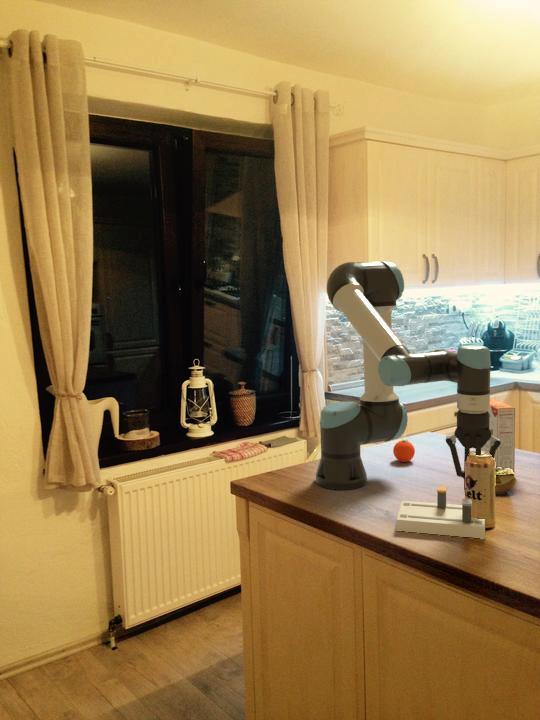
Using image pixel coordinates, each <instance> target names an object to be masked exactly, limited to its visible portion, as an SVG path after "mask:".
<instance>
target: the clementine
mask: <svg viewBox="0 0 540 720" xmlns="http://www.w3.org/2000/svg"><path fill="white" fill-rule="evenodd" d="M415 450H416V449H415V447H414V445H413V444H412V443H411V442H410V441H408V439H402V440H399V441H398V442H396V443H395V444H394V446H393V449H392V451H393V455H394V456H393V457H395V459H396V460H397V461H400V462H402V463H403V462H404V463H406V462H409V461H411V460H412V459H413V458H414V456H415V452H416V451H415Z"/></svg>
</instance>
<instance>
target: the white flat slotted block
mask: <svg viewBox="0 0 540 720" xmlns="http://www.w3.org/2000/svg"><path fill="white" fill-rule="evenodd" d="M395 522H396V525H395V526H396V532H397V531H405V532H404V533H408V532H417V533H416V534H419V533H429V534H439V535H438V536H440V535H450V536H449V537H451V536H463V537H473V538H480V539H479V540H484V539H485V540H486V523H485V522H486V519H477V518H473V517H471V522H462V504H454V503H453V504H452V503H451V504H450V503H446V508H438V507H437V502H425V501H413V500H401V503H400V506H399V509H398V513H397V517H396V521H395ZM406 531H407V532H406ZM429 534H428V535H429ZM473 538H472V539H473Z"/></svg>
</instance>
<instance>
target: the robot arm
mask: <svg viewBox="0 0 540 720" xmlns="http://www.w3.org/2000/svg"><path fill="white" fill-rule="evenodd" d="M328 276H329V277H328V278H327V281H326V294H327V297H328V300H329V303H331V305H332V306H333V308H334V309H335V310H336V311H337V312H339V313H342V314H343V315H344V317H345V318H346V320H348V322H349V323H350V324H351V326H352V327H353V328H354V329H355V331H356V333H357V334H358V335H359V336H360V338H361V339H362V349H363V350H362V351H363V377H364V379H363V380H364V382H363V383H364V384H363V385H364V387H363V388H364V392H363V393H362V395H361V396H360V397H359V403H358V402H356V401H349V400H347V401H339V402H333V403H330V404H328V405H325V406H324V407H323V408H322V409H321V411H320V417H319V428H320V430H319V431H320V454H321V455H320V459H319V462H318V466H317V469H316V472H315V483H316V484H317V485H318V486H320V487H321V488H324V489H327V490H329V489H330V490H339V491H340V490H341V491H342V490H343V491H344V490H345V491H346V490H354V489H359V488H361V487H364V486H365V485H366V484H367V483H368V477H367V476H368V474H367V472H366V469H365V465H364V463H363V461H362V460H363V459H362V457H361V446H363V445H369V444H370V445H371V444H376V443H383V442H385V443H387V442H390V441H394V440H397V439H399V438H401V437H402V435H404V434H405V431H406V430H407V426H408V420H409V419H408V411H407V410H406V406H405V404H404V403H402V402H401V401H400V397H399V396H398V395H397V394H396V393H395V391H394V387H405V386H409V385H416V384H417V385H418V384H427V383H434V382H435V383H436V382H444V381H445V382H451V383H455V384H456V385H457V386H456V408H457V409H458V410H457V411H456V428H455V430H454V433H453V434H451V435H446V436H445V443H446V444H447V446H448V447H449V450H450V453H451V457H452V461H453V466H454V470H455V473H456V476H457V477H459V478H463V481H464V483H463V486H464V487H463V491H465V461H466V458H467V456H469V455H470V454H471V449H475V456H476V455H481V448H482V447H483V446H484V445H485V444H486V443H487V441H488V440H489V439H490V445H491V447H490V450H489V453H490V454H491V455H492V457H493V458H494V456H495V452H496V449H497V448H498V447H499V446H500V444H501V442H500V439H499V438H495V437H494V436H492V434H491V431H490V429H489V423H490V413H489V412H488V411H487V410H489V409H490V399H491V397H490V396H491V390H490V389H491V366H492V362H491V350H490V349H489V347H487V346H484V345H461V346H459V347H458V348H457V351H453V350H452V351H450V350H446V349H442V348H440V349H435V348H434V349H431V350H429V351H428V352H418V353H417V352H416V353H413V352H412V353H411V352H410V350H409V349H408V348H407V347H406V345H405V344H404V343H403V342H402V340H401V339H400V338H399V337H398V335H397V334H396V333H395V332H394V331H393V328H392V326H393V325H392V312H393V311H394V309H395V308H397V300H400V299H401V297H402V296H403V293H404V291H405V280H404V276H403V273H402V272H401V269H400V268H399V267H398V265H396V264H395V263H393V262H391V261H383V260H382V261H380V260H377V261H356V262H355V261H348V262H344V263H342V264H340V265H338V266H336V267H335V268H334V269H333V270H332V271H331V273H330V274H329V275H328ZM457 440H458V442H459V443H460V444H461V446H462V447H464V457H463V458H464V462H463V463H464V465H463V467H464V470H462V466H461V463H460V458H459V455H458V449H457V445H456V444H457ZM468 454H469V455H468ZM470 456H471V455H470Z"/></svg>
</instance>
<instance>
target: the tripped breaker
mask: <svg viewBox="0 0 540 720" xmlns="http://www.w3.org/2000/svg"><path fill="white" fill-rule="evenodd" d="M436 494H437V496H436V497H437V502H436V503H437V507H438V508H446V504H447V486H443V485H442V486H441V485H438V486H437V491H436Z"/></svg>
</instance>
